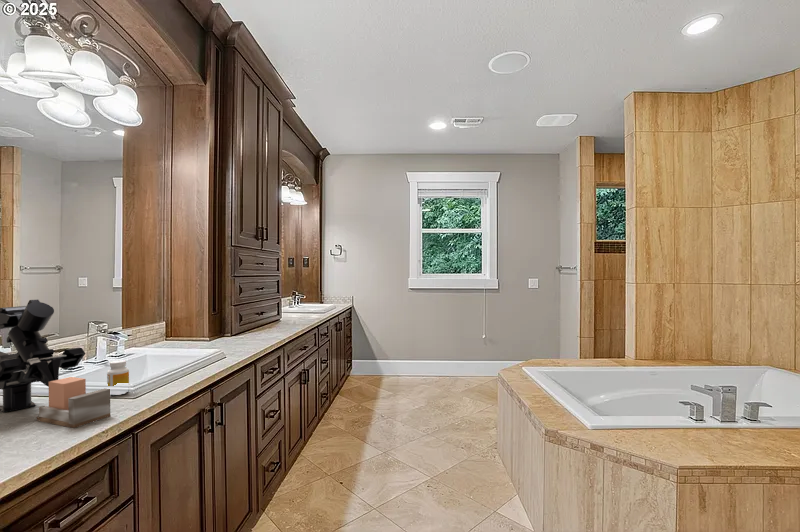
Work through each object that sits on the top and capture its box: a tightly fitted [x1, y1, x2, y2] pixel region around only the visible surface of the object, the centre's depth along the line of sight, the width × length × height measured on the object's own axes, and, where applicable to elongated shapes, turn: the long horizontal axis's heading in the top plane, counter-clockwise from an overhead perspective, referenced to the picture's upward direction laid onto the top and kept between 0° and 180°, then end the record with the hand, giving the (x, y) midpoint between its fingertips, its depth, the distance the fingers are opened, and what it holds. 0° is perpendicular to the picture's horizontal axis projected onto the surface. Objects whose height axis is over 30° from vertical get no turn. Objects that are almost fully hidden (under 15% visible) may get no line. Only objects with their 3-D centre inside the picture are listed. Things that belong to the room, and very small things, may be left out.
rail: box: [36, 388, 111, 429], centre depth 104 cm, size 14×8×7 cm, turn 68°
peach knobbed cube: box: [48, 376, 87, 410], centre depth 105 cm, size 7×5×8 cm
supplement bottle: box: [106, 359, 130, 386], centre depth 124 cm, size 5×5×10 cm
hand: (55, 388), depth 107 cm, fingers closed
